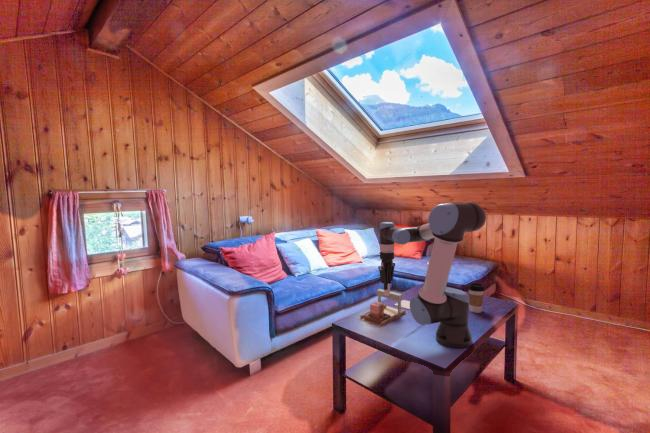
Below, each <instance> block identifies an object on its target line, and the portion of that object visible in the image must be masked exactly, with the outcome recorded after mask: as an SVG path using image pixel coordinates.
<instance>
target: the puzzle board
mask: <svg viewBox="0 0 650 433" xmlns="http://www.w3.org/2000/svg"><path fill="white" fill-rule="evenodd" d="M383 304H384V303H383ZM408 313H409V312H408V311H407V309H406V310H405V309H401V313H398V308H395V307H392V306H388V305H387V304H384V317H383V318H381V319H376V318H373V317H370V310H369V311H367V312H366V313H363V314H361V315H360V316H359V317H360V318H358V319H357V320H358V321H362V322H363V323H367V324H370V325H372V326H375V327H378V328H383V327H384V326H386V325H387V324H390V323H391V322H393V321H395V320H396V319H398V318H400V317H402V316H404V315H406V314H408Z"/></svg>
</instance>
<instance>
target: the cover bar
mask: <svg viewBox="0 0 650 433" xmlns="http://www.w3.org/2000/svg"><path fill="white" fill-rule="evenodd" d="M376 296H377V302H379V303H382V298H385V299H388V300H393V301H396V302H397V303H398V306H397V309H398V313H401V310H402V307H401V301H402V300H403V293H399V292H395V291H391V290H390V296H386V295H384V288H383V289H382V288H379V289H377V290H376Z"/></svg>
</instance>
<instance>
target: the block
mask: <svg viewBox="0 0 650 433" xmlns="http://www.w3.org/2000/svg"><path fill="white" fill-rule="evenodd" d="M369 309H370V310H369V311H370V317H373V318H376V319H381V318H383V317H384V303H382V302H381V303H379V302H378V301H374V302H372V303H370V304H369Z"/></svg>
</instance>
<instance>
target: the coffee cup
mask: <svg viewBox="0 0 650 433" xmlns="http://www.w3.org/2000/svg"><path fill="white" fill-rule="evenodd" d="M467 289H468V301H469V311H470V312H472V313H475V314H480V313H482V312H483V311H482V310H483V302H484V297H485V294H484V293H485V286H484V285H483V284H481V283H475V282H474V283H472V282H471V283H469V284H468V286H467Z"/></svg>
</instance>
